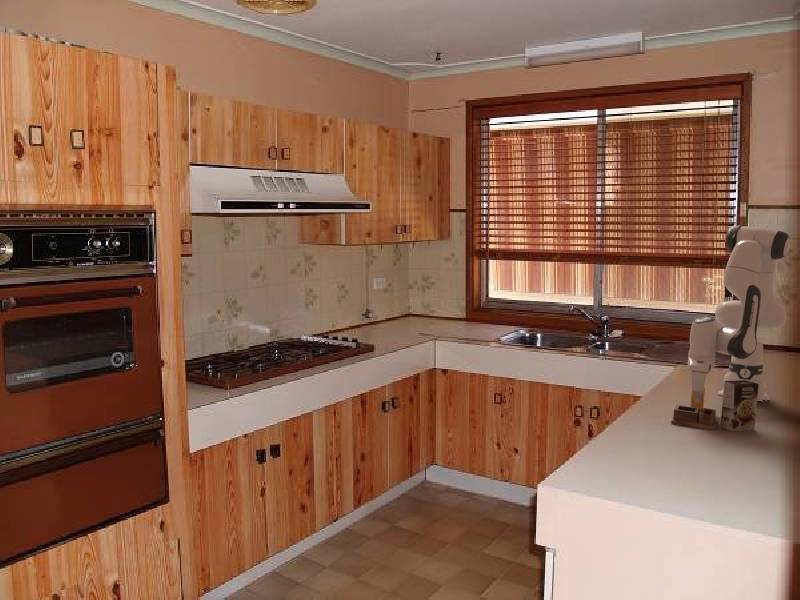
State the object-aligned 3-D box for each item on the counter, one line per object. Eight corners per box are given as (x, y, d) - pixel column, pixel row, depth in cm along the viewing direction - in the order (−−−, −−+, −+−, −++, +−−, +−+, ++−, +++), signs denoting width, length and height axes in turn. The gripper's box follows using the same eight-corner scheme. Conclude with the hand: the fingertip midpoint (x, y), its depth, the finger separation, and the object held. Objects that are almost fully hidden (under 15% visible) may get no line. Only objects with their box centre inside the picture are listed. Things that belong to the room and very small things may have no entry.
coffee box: (733, 432, 237) (736, 384, 235) (719, 426, 243) (723, 380, 241) (755, 430, 240) (759, 383, 238) (741, 424, 246) (745, 379, 244)
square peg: (691, 412, 260) (693, 385, 259) (703, 413, 259) (705, 387, 257) (690, 414, 257) (692, 387, 256) (701, 416, 255) (704, 389, 254)
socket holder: (675, 415, 256) (676, 403, 255) (717, 421, 249) (718, 409, 249) (671, 423, 245) (671, 411, 244) (715, 430, 239) (716, 417, 238)
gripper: (694, 357, 266) (691, 393, 267) (689, 366, 248) (686, 405, 249) (712, 358, 263) (710, 395, 265) (708, 368, 245) (705, 407, 246)
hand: (698, 400), depth 257 cm, fingers open, 8 cm apart
